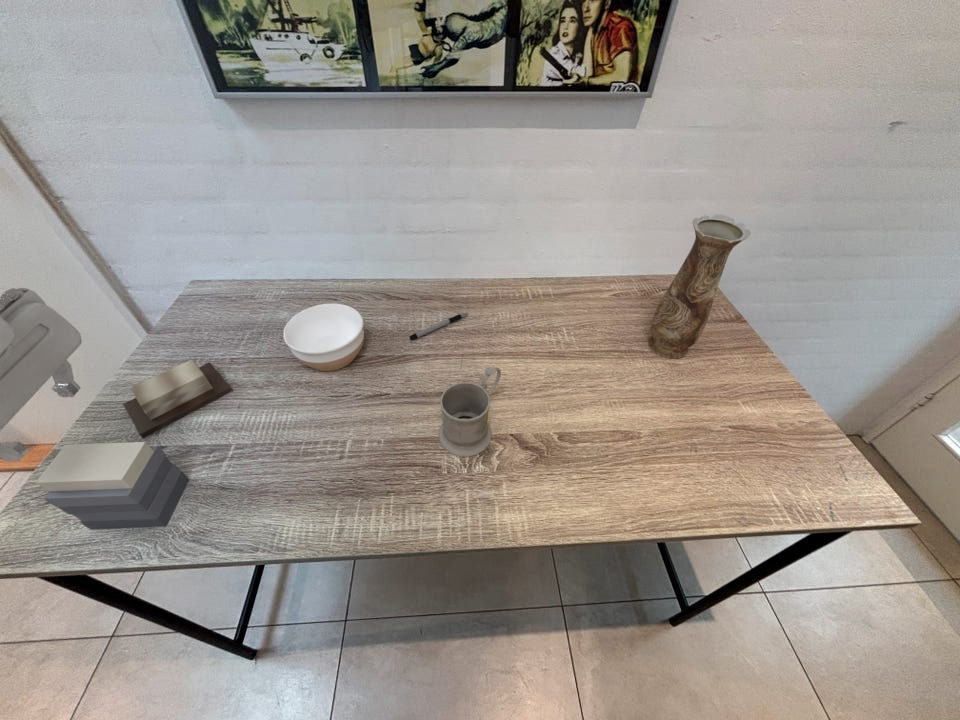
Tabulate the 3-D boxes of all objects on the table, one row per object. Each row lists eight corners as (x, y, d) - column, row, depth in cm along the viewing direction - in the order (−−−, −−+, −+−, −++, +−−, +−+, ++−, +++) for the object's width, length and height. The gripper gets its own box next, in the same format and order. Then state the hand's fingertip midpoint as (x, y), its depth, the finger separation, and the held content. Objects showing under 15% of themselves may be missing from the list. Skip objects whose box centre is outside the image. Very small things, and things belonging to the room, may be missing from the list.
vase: (700, 354, 93) (768, 232, 72) (665, 367, 90) (725, 244, 69) (667, 327, 100) (721, 208, 79) (633, 338, 97) (680, 218, 76)
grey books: (90, 529, 62) (43, 498, 55) (120, 481, 68) (80, 448, 61) (166, 526, 63) (128, 495, 56) (189, 479, 68) (158, 445, 61)
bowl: (384, 351, 91) (378, 323, 86) (323, 392, 82) (313, 364, 77) (339, 321, 98) (332, 294, 93) (279, 356, 89) (267, 328, 84)
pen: (409, 339, 95) (408, 334, 94) (466, 313, 102) (466, 309, 101) (411, 342, 94) (411, 337, 93) (469, 316, 101) (469, 311, 100)
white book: (48, 491, 56) (34, 482, 54) (76, 453, 60) (64, 444, 58) (132, 488, 56) (121, 479, 55) (154, 451, 61) (145, 441, 59)
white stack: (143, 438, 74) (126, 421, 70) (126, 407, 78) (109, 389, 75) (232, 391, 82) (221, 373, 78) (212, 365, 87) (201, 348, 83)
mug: (467, 466, 71) (467, 425, 63) (427, 435, 76) (423, 393, 67) (516, 417, 79) (523, 375, 71) (478, 391, 84) (480, 349, 75)
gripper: (-7, 280, 48) (74, 363, 57) (-204, 423, 33) (-51, 501, 43) (50, 279, 48) (121, 361, 58) (-120, 420, 34) (13, 498, 43)
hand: (47, 422), depth 50 cm, fingers open, 8 cm apart
